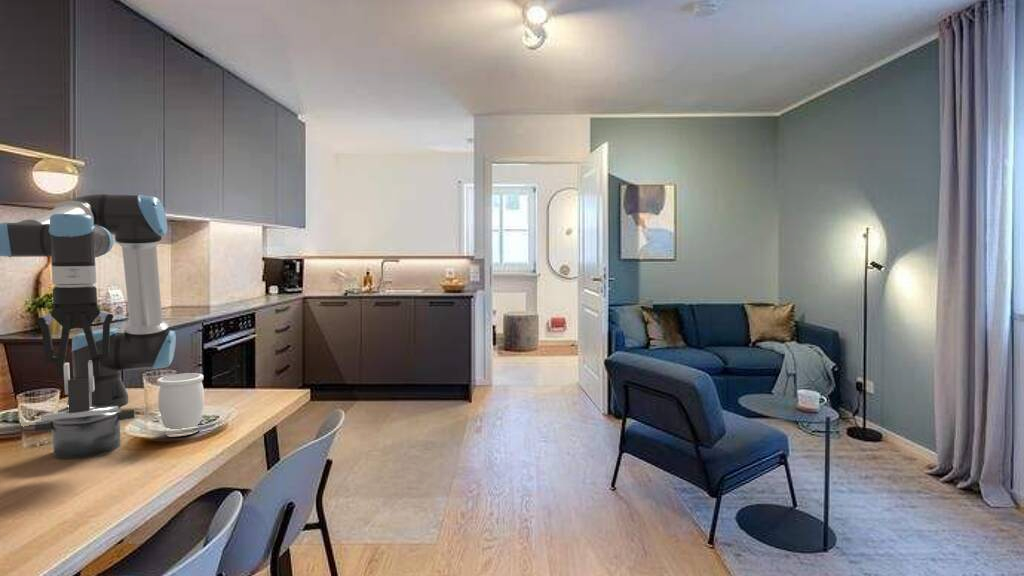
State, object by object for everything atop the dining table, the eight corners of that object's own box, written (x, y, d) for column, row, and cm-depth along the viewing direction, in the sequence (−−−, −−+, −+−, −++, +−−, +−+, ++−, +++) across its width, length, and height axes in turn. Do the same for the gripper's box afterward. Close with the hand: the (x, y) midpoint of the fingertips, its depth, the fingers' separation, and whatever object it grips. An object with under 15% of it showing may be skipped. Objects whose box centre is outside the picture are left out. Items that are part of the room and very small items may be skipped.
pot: (41, 448, 137) (39, 411, 136) (135, 434, 147) (134, 400, 146) (32, 466, 125) (30, 427, 125) (135, 450, 136) (133, 413, 135)
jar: (184, 441, 143) (182, 382, 142) (149, 437, 145) (147, 380, 144) (214, 427, 153) (212, 373, 152) (181, 425, 155) (179, 371, 154)
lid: (46, 418, 125) (45, 382, 126) (119, 408, 133) (118, 374, 133) (36, 422, 114) (35, 383, 115) (116, 412, 121) (115, 375, 122)
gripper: (21, 288, 114) (27, 401, 116) (121, 285, 123) (125, 390, 125) (27, 285, 120) (33, 393, 122) (121, 283, 129) (126, 383, 131)
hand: (79, 391), depth 123 cm, fingers closed on lid, 3 cm apart
